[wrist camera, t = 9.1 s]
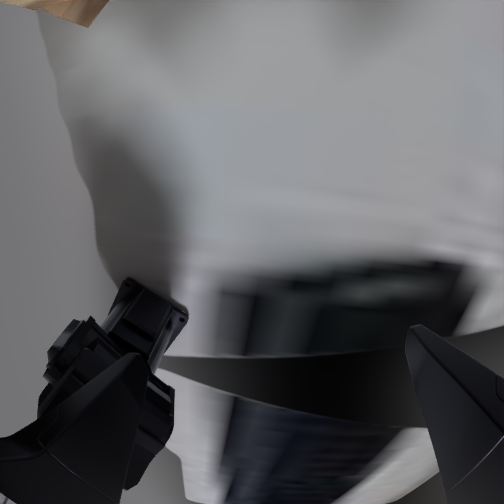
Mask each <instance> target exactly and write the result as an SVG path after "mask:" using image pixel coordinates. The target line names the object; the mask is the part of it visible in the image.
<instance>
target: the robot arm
mask: <svg viewBox="0 0 504 504" xmlns="http://www.w3.org/2000/svg"><path fill="white" fill-rule="evenodd" d="M127 282H128V283H130V285H129V284H128V283H127ZM181 317H182V318H184V319H181ZM188 319H189V317H188V315H187V314H186V313H184V312H182V311H181V310H179V309H178V308H176V307H174V306H173V305H171V304H170V303H168V302H166V301H165V300H163V299H162V298H160V297H159V296H157V295H156V294H154V293H153V292H151V291H150V290H148V289H147V288H145V287H144V286H142V285H141V284H139V283H138V282H136V281H135V280H133V279H132V278H130V277H127V278H126V279H125V280H124V281H123V282H122V285H121V287H120V289H119V291H118V293H117V296H116V298H115V300H114V302H113V305H112V307H111V309H110V312H109V314H108V317H107V318H106V319H105V321H104V322H103V323H102V325H101V326H99V325H98V324H97V323H96V322H95V319H93V317H92V316H90V317H89V318H88V319H87V320H86V321H84V320H83V321H78V320H75V319H74V320H72V322H71V323H70V324H69V325H68V326H67V327H66V329H65V330H64V331H63V332H62V334H61V335H60V336H59V337H58V338H57V340H56V341H55V342H54V344H53V345H52V346H51V347H50V349H49V350H48V351H47V354H48V364H47V365H46V367H47V369H46V371H45V373H44V374H43V377H44V378H45V379H46V380H47V381H48V382H49V383H48V384H47V386H46V387H45V388H44V390H43V391H42V393H41V394H40V396H39V399H38V412H37V420H36V421H34V422H33V423H31V424H29V425H28V426H26V427H24V428H23V429H21V430H20V431H18V432H16V433H15V434H12V435H11V436H8V437H2V438H0V504H119V503H120V499H121V494H122V490H124V491H126V490H129V489H130V488H132V487H134V486H135V485H137V484H138V482H139V481H140V479H141V477H142V475H143V474H144V472H145V470H146V468H147V467H148V465H149V463H150V462H151V461H152V459H153V458H154V457H155V455H156V454H157V453H158V452H159V451H160V450H161V449H163V447H164V446H165V444H166V443H167V441H168V439H169V438H170V436H171V434H172V431H173V427H174V399H175V389H173V388H172V387H171V386H168V385H166V384H165V383H164V382H163V381H161V380H160V379H159V378H158V377H156V376H155V375H154V374H155V372H156V369H157V367H158V365H159V363H160V360H161V358H162V356H163V355H164V353H165V352H166V350H167V349H168V348H169V346H170V345H171V344H172V342H173V341H174V340H175V338H176V337H177V336H178V334H179V333H180V332H181V330H182V329H183V328H184V326H185V325H186V323H187V322H188ZM405 352H406V356H407V360H408V364H409V368H410V372H411V376H412V380H413V384H414V388H415V392H416V395H417V398H418V401H419V404H420V406H421V409H422V413H423V416H424V419H425V422H426V425H427V428H428V431H429V435H430V438H431V441H432V445H433V448H434V452H435V455H436V459H437V463H438V466H439V470H440V474H441V478H442V482H443V487H444V491H445V494H446V501H447V504H504V378H502V377H501V376H499V375H496V373H495V372H493V371H492V370H490V369H489V368H487V367H486V366H484V365H483V364H481V363H480V362H478V361H477V360H475V359H473V358H472V357H471V356H469V355H468V354H466V353H465V352H463V351H461V350H460V349H458V348H457V347H455V346H454V345H452V344H451V343H449V342H447V341H446V340H444V339H443V338H441V337H440V336H438V335H437V334H435V333H434V332H432V331H430V330H429V329H427V328H426V327H424V326H423V325H415V326H411V327H409V329H408V333H407V339H406V344H405Z"/></svg>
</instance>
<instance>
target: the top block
mask: <svg viewBox="0 0 504 504" xmlns="http://www.w3.org/2000/svg"><path fill="white" fill-rule="evenodd" d="M64 1H68V0H1V1H0V2H2V3H7V4H12V5H16V6H21V7H24V8H28V9H32V10H35V9H39V8H42V7H45V6H49V5H52V4H56V3H60V2H64Z"/></svg>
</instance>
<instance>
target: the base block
mask: <svg viewBox="0 0 504 504" xmlns="http://www.w3.org/2000/svg"><path fill="white" fill-rule="evenodd" d="M108 1H109V0H68V1H64V2H60V3H56V4H52V5H49V6H45V7H42V8H41V9H43V10H45V11H47V12H49V13H51V14H53V15H55V16H57V17H59V18H62V19H65V20H68V21H71V22H73V23H76V24H79V25H82V26H85V27H87V28H88V27H89V26H90V25H91V23H92V22H93V20H94V19H95V18H96V16H97V15H98V14H99V12H100V11H101V10H102V9H103V7H104V6H105V5H106V4H107V2H108Z"/></svg>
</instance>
